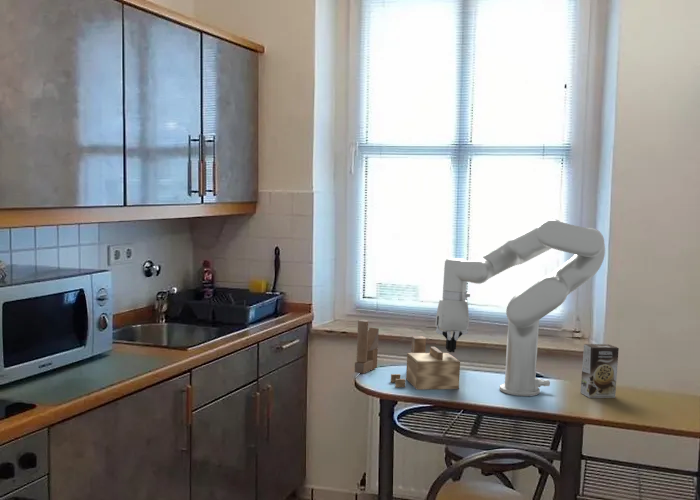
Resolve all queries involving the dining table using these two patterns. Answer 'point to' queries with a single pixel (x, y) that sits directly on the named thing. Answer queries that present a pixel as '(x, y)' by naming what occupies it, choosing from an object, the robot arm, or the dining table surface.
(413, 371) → the toolbox
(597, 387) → the coffee box
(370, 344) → the wooden block
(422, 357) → the lid
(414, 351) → the tall wooden pillar
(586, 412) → the dining table surface
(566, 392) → the dining table surface
